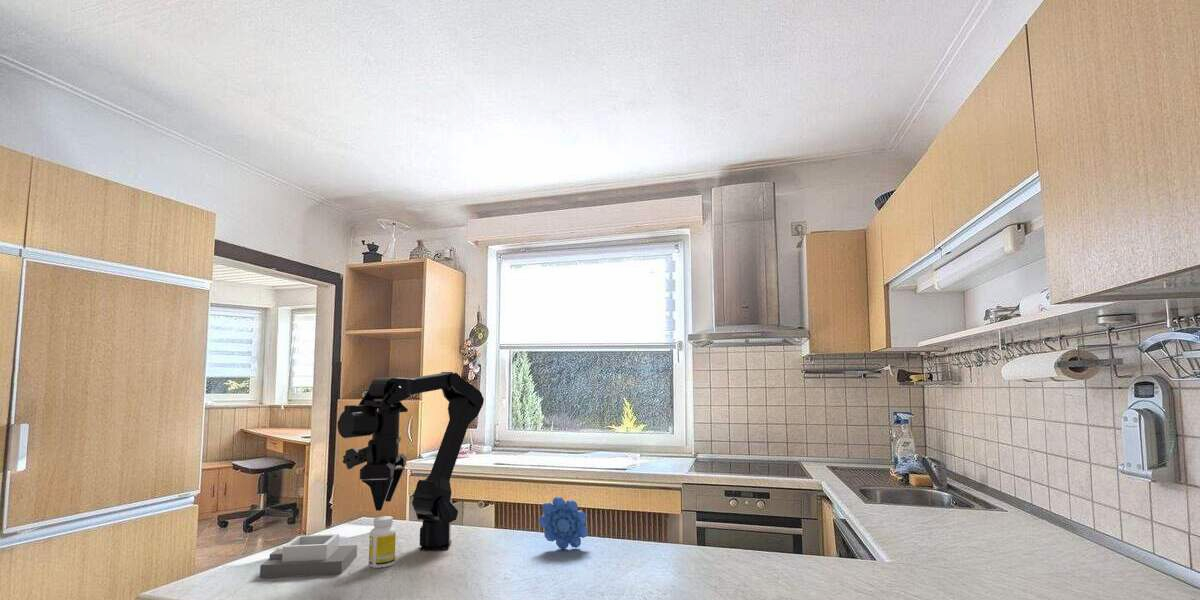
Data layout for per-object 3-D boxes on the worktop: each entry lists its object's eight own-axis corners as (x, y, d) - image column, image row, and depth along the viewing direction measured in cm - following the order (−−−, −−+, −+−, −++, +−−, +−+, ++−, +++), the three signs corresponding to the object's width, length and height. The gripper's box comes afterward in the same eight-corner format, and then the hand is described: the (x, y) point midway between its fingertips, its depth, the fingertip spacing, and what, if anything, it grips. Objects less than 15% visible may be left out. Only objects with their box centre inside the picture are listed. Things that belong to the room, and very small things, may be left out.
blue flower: (537, 555, 137) (537, 500, 138) (539, 546, 144) (539, 494, 145) (588, 554, 137) (588, 499, 139) (588, 545, 144) (587, 493, 146)
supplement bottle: (400, 562, 133) (401, 516, 134) (383, 569, 128) (385, 521, 129) (379, 559, 135) (381, 514, 136) (362, 567, 130) (364, 520, 131)
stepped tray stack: (356, 556, 137) (357, 531, 138) (341, 573, 125) (342, 546, 126) (282, 560, 135) (283, 534, 136) (259, 577, 123) (261, 550, 124)
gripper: (359, 430, 143) (356, 498, 141) (335, 439, 125) (332, 517, 123) (407, 429, 144) (406, 496, 142) (390, 437, 126) (388, 515, 124)
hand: (383, 505), depth 133 cm, fingers open, 9 cm apart
